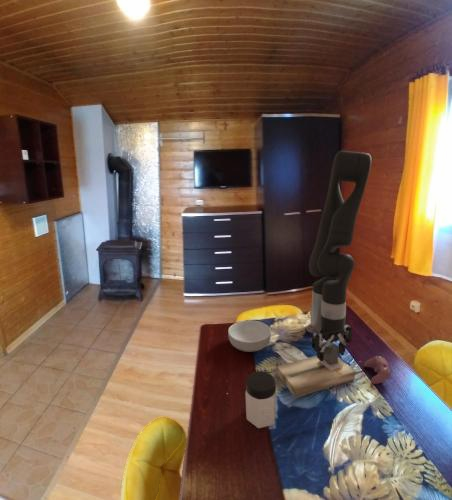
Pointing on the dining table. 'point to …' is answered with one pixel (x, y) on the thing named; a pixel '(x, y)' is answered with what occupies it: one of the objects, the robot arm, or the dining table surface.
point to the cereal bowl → (249, 335)
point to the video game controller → (379, 369)
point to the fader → (331, 357)
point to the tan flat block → (312, 376)
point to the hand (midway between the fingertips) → (330, 356)
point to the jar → (261, 399)
